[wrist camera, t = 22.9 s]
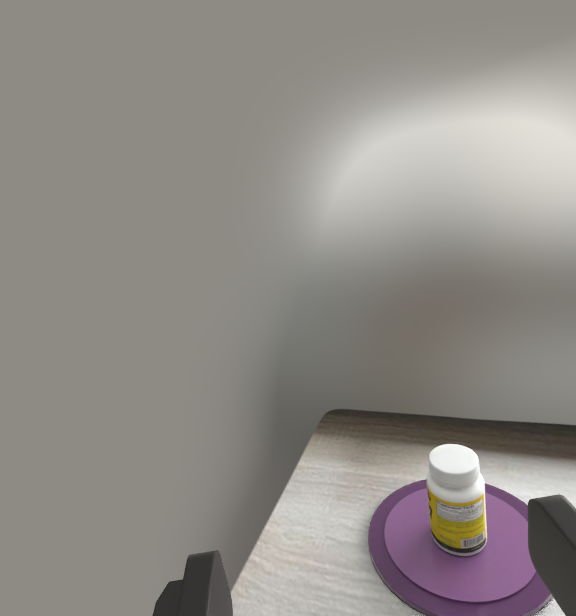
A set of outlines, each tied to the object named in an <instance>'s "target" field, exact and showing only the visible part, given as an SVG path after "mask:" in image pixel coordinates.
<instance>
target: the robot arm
mask: <svg viewBox="0 0 576 616" xmlns="http://www.w3.org/2000/svg"><path fill="white" fill-rule="evenodd" d="M528 550H529V554H530V558H531V561H532V563H533V565H534V568H535V570H536V571H537V573H538V575H539V576H540V578H541V579H542V581H543V582H544V584H545V585H546V587H547V588H548V590H549V591H550V593H551V594H552V596H553V597H554V599H555V600H556V602H557V603H558V605H559V606H560V608H561V609H562V611H563V612H564V613H565V615H566V616H576V508H575V507H574V506H573V505H572V504H571V503H570V502H569V501H568V500H567V499H566V498H565V497H564V496H562V495H554V496H548V497H542V498H536V499H530V500H529V502H528ZM153 616H233V609H232V599H231V594H230V590H229V586H228V582H227V578H226V574H225V571H224V567H223V563H222V559H221V555H220V553H219V551H218V550H216V551H211V552H204V553H198V554H192V555H189V557H188V559H187V563H186V568H185V573H184V578H183V580H177V581H171V582H169V583H168V584H167V586H166V587H165V589H164V591H163V592H162V594H161V595H160V597H159V599H158V600H157V602H156V605H155V609H154V613H153Z"/></svg>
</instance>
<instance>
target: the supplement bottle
mask: <svg viewBox="0 0 576 616" xmlns="http://www.w3.org/2000/svg"><path fill="white" fill-rule="evenodd" d="M429 470H430V471H429V473H428V475H427V491H428V501H429V513H430V523H431V532H432V537H433V539H434V541H435V543H436V544H437V545H438V546H439V547H440V548H441V549H443V550H444V551H446V552H448V553H450V554H453V555H458V556H471V555H474V554H477V553H479V552H480V551H481V550H482V549H483V548H484V547H485V545H486V542H487V523H486V504H485V483H484V479H483V477H482V475H481V474H480V469H479V459H478V457H477V455H476V454H475V453H474V452H473V451H472V450H471V449H469V448H467V447H464V446H461V445H456V444H445V445H441V446H438V447H436V448H434V449H433V450H432V451H431V453H430V455H429Z"/></svg>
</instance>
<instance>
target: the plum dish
mask: <svg viewBox="0 0 576 616" xmlns="http://www.w3.org/2000/svg"><path fill="white" fill-rule="evenodd" d="M485 504H486V523H487V542H486V545H485V547H484V548H483V549H482V550H481V551H480V552H479V553H477V554H474V555H471V556H458V555H453V554H450V553H448V552H446V551H444V550H443V549H441V548H440V547H439V546H438V545H437V544H436V543H435V541H434V539H433V537H432V532H431V523H430V513H429V501H428V491H427V480H421V481H418V482H414V483H411V484H409V485H406V486H404V487H402V488H400V489H398V490H396V491H395V492H393V493H392V494H391V495H389V496H388V497H387V498H386V499H385V500H384V501H383V502H382V503H381V504H380V505H379V507H378V508H377V510H376V511H375V513H374V515H373V517H372V520H371V522H370V527H369V535H368V541H369V549H370V554H371V558H372V561H373V563H374V566H375V568H376V570H377V572H378V574H379V575H380V577H381V578H382V580H383V581H384V582H385V584H386V585H387V586H388V587H389V588H390V589H391V591H392V592H394V593H395V594H396V595H397V596H398V597H399V598H400V599H401V600H403V601H404V602H405V603H407V604H408V605H410V606H411V607H412V608H414V609H416V610H418V611H419V612H421V613H423V614H425V615H427V616H532V615H534V614H535V613H537V612H538V611H539V610H540V609H542V608H543V607H544V606H545V605H546V604H547V603H548V601H549V600H550V599H551V598H552V594H551V593H550V591H549V590H548V588H547V587H546V585H545V584H544V582H543V581H542V579H541V578H540V576H539V575H538V573H537V571H536V570H535V568H534V565H533V563H532V561H531V558H530V554H529V550H528V505H526V504H525V503H524V502H523V501H521V500H519V499H518V498H516V497H515V496H513V495H511V494H509V493H507V492H505V491H504V490H501V489H499V488H496V487H494V486H491V485H488V484H485Z"/></svg>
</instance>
